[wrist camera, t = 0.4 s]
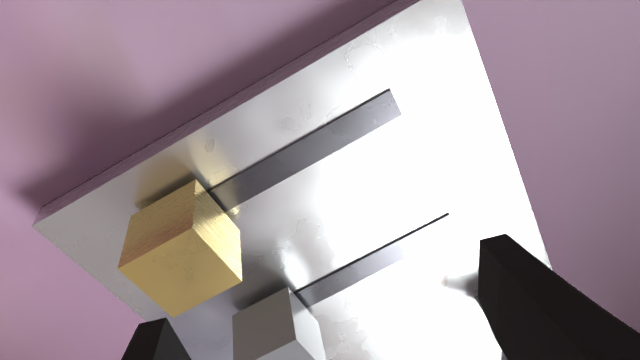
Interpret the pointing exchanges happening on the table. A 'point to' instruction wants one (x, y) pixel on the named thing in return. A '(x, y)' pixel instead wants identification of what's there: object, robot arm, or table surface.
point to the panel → (336, 193)
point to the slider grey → (277, 330)
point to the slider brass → (182, 250)
